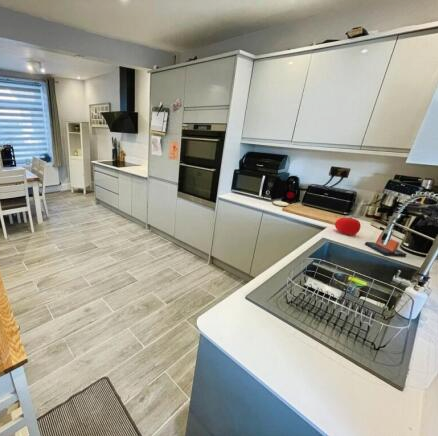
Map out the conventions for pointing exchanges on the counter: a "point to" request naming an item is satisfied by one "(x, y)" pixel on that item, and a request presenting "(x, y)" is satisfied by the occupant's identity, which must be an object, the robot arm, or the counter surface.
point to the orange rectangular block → (389, 244)
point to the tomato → (348, 225)
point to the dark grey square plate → (385, 250)
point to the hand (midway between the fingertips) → (407, 216)
